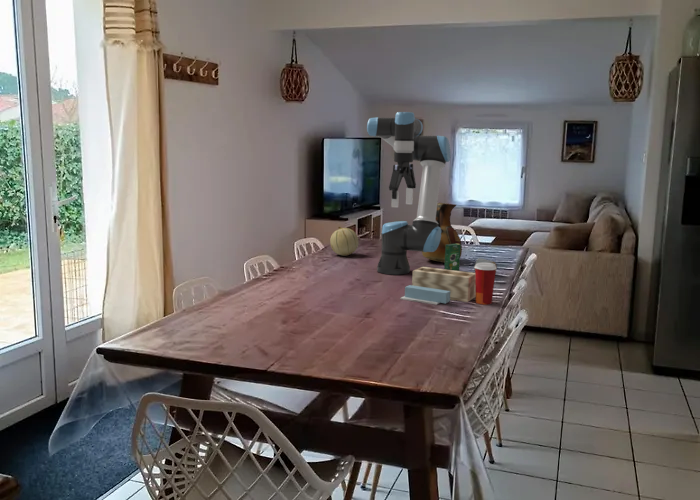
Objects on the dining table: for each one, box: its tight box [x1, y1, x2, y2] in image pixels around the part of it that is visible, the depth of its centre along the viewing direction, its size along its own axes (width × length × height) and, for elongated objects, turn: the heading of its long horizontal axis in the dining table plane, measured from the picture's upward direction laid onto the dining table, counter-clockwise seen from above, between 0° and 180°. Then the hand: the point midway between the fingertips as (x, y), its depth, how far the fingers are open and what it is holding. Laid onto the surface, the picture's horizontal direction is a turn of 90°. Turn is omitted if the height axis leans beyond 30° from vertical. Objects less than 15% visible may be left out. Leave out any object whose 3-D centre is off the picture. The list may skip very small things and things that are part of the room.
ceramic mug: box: [473, 257, 498, 275], centre depth 296 cm, size 11×8×8 cm
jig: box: [411, 266, 476, 303], centre depth 257 cm, size 23×10×10 cm, turn 61°
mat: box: [400, 295, 440, 306], centre depth 251 cm, size 8×15×1 cm, turn 61°
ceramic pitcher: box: [421, 201, 463, 263], centre depth 324 cm, size 20×20×30 cm
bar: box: [404, 284, 451, 304], centre depth 249 cm, size 17×4×4 cm, turn 58°
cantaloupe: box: [329, 226, 359, 257], centre depth 337 cm, size 15×15×15 cm
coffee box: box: [443, 243, 462, 271], centre depth 302 cm, size 8×3×13 cm, turn 129°
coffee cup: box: [473, 263, 498, 306], centre depth 246 cm, size 8×8×15 cm
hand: (402, 205), depth 259 cm, fingers open, 13 cm apart
